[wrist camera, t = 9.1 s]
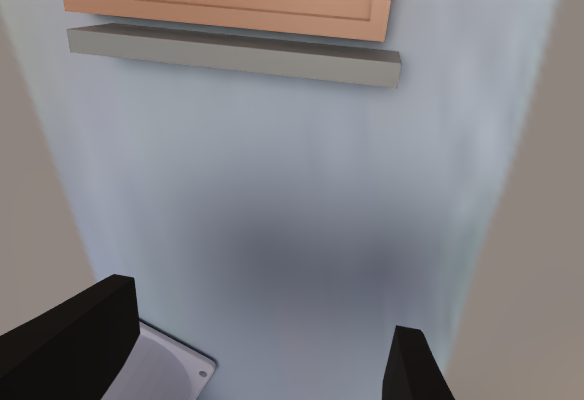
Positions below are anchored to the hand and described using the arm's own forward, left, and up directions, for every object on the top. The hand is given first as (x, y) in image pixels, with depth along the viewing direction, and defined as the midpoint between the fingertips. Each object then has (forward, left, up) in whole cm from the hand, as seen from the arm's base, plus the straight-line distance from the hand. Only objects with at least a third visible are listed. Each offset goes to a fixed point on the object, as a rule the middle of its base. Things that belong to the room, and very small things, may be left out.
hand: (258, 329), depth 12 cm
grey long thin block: (+4, +5, -9) cm, 12 cm away
